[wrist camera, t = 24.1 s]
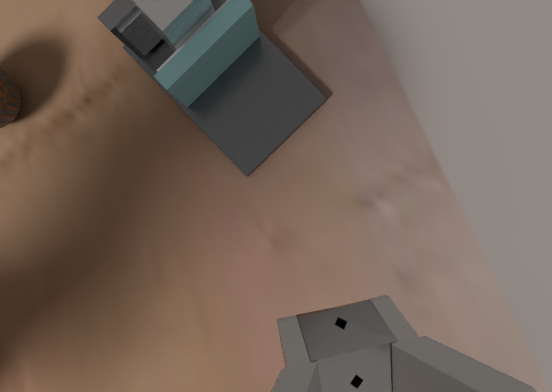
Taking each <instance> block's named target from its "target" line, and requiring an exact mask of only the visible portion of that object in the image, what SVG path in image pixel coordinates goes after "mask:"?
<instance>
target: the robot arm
mask: <svg viewBox="0 0 552 392" xmlns="http://www.w3.org/2000/svg"><path fill="white" fill-rule="evenodd" d="M277 324H278V330H279V335H280V341H281V347H282V353H283V358H284V364H285V369H282V370H281V372H280V374H279V376H278V378H277V380H276V383H275V385H274V387H273V389H272V391H271V392H536V391H535V390H534V388H533V387H532V386H530V385H528V384H525V383H523V382H521V381H519V380H517V379H515V378H513V377H511V376H509V375H506V374H504V373H502V372H500V371H498V370H496V369H494V368H492V367H490V366H487V365H485V364H483V363H481V362H479V361H477V360H475V359H473V358H471V357H469V356H466V355H464V354H462V353H460V352H458V351H456V350H454V349H452V348H450V347H447V346H445V345H443V344H441V343H439V342H437V341H435V340H433V339H431V338H428V337H426V336H422V337H419V336H418V335H417V333H416V332H415V331H414V329H413V328H412V327H411V325H410V324H409V323H408V321H407V320H406V319H405V317H404V316H403V315H402V313H401V312H400V311H399V309H398V308H397V307H396V305H395V304H394V302H393V301H392V300H391V298H390V297H389V296H387V295H383V296H379V297H375V298H371V299H368V300H364V301H360V302H356V303H351V304H347V305H343V306H338V307H334V308H329V309H323V310H318V311H313V312H308V313H303V314H298V315H296V316H295V315H294V316H289V317H285V318H280V319H277Z"/></svg>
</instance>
